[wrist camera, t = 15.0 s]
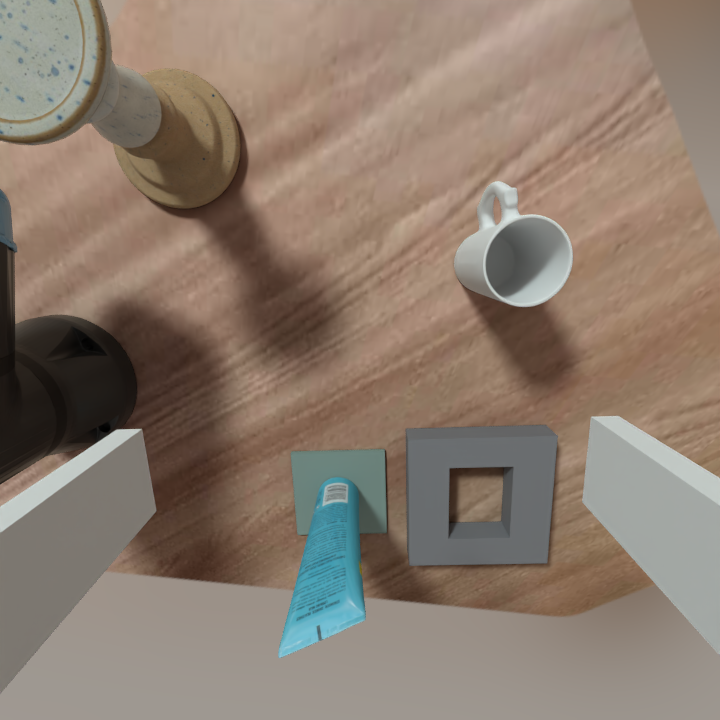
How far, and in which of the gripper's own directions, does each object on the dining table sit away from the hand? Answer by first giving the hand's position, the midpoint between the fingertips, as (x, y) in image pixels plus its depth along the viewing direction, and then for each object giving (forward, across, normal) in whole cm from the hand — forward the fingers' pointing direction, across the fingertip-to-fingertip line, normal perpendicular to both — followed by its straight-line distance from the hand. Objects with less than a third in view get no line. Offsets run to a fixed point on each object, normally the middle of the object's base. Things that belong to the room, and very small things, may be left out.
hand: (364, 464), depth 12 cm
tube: (+32, -4, -21) cm, 39 cm away
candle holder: (+33, -18, +18) cm, 42 cm away
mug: (+33, +12, +7) cm, 36 cm away
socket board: (+33, +12, -21) cm, 41 cm away
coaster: (+33, -4, -21) cm, 39 cm away
